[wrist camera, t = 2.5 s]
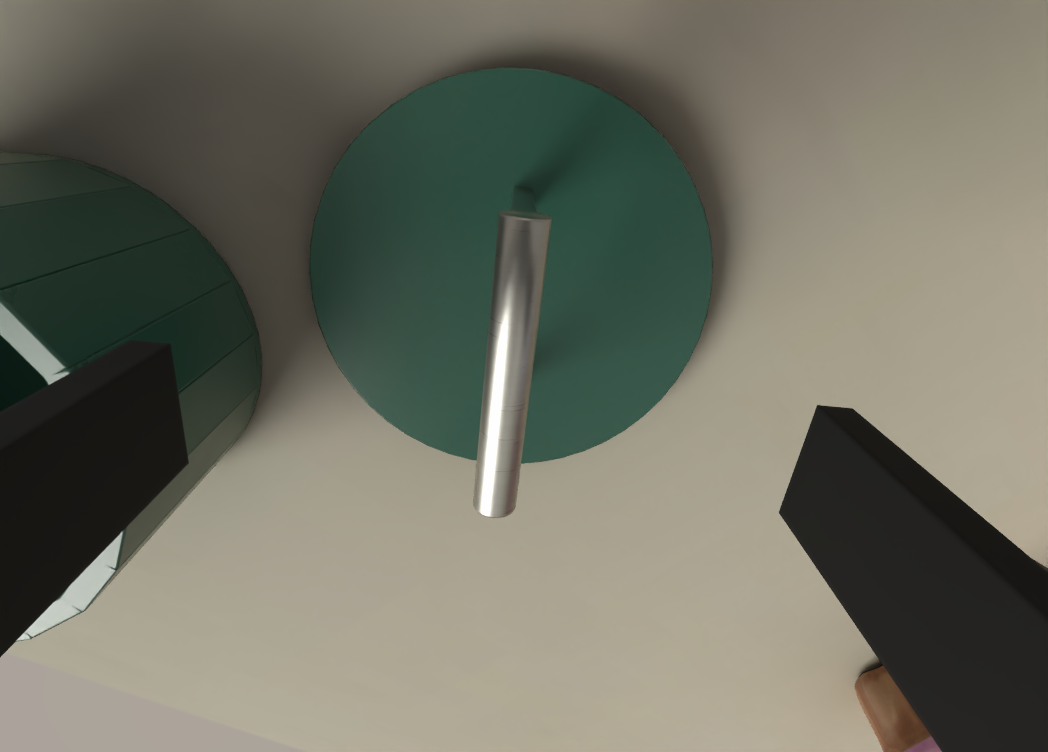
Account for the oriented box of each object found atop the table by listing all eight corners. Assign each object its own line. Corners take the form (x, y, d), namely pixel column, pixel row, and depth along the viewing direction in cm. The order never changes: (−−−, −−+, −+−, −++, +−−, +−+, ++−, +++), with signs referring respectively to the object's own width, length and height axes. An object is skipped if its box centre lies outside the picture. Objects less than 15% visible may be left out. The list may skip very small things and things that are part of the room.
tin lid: (748, 98, 20) (925, 78, 11) (659, 463, 26) (729, 631, 17) (311, 43, 19) (139, -23, 10) (325, 433, 25) (225, 593, 16)
